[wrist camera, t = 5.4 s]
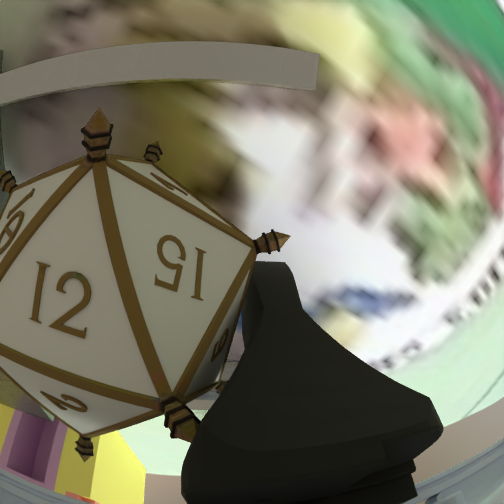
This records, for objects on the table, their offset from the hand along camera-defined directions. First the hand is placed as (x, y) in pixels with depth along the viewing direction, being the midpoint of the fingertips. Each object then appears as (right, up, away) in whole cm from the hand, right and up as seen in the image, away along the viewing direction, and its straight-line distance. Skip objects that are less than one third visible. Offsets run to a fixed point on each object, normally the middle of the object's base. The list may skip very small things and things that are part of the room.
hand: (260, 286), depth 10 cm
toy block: (-19, -17, +11) cm, 28 cm away
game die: (-4, +2, +1) cm, 5 cm away
